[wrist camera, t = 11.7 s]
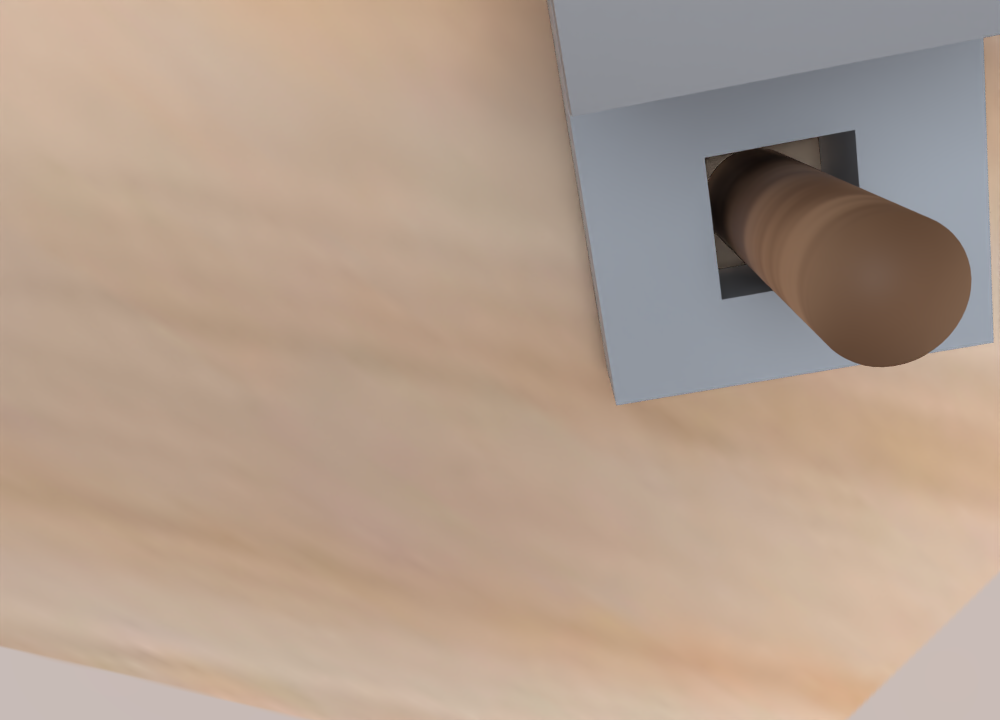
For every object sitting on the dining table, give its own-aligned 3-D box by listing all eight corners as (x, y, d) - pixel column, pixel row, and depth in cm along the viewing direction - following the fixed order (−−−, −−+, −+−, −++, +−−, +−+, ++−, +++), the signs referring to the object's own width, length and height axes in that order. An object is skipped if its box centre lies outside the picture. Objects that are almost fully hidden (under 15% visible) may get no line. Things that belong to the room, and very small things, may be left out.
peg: (709, 255, 39) (815, 378, 25) (698, 157, 38) (803, 227, 23) (808, 239, 39) (973, 353, 24) (800, 139, 37) (969, 199, 23)
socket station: (595, 369, 41) (662, 679, 21) (516, -100, 35) (505, -300, 15) (955, 308, 39) (1398, 574, 19) (932, -188, 34) (1519, -533, 14)
